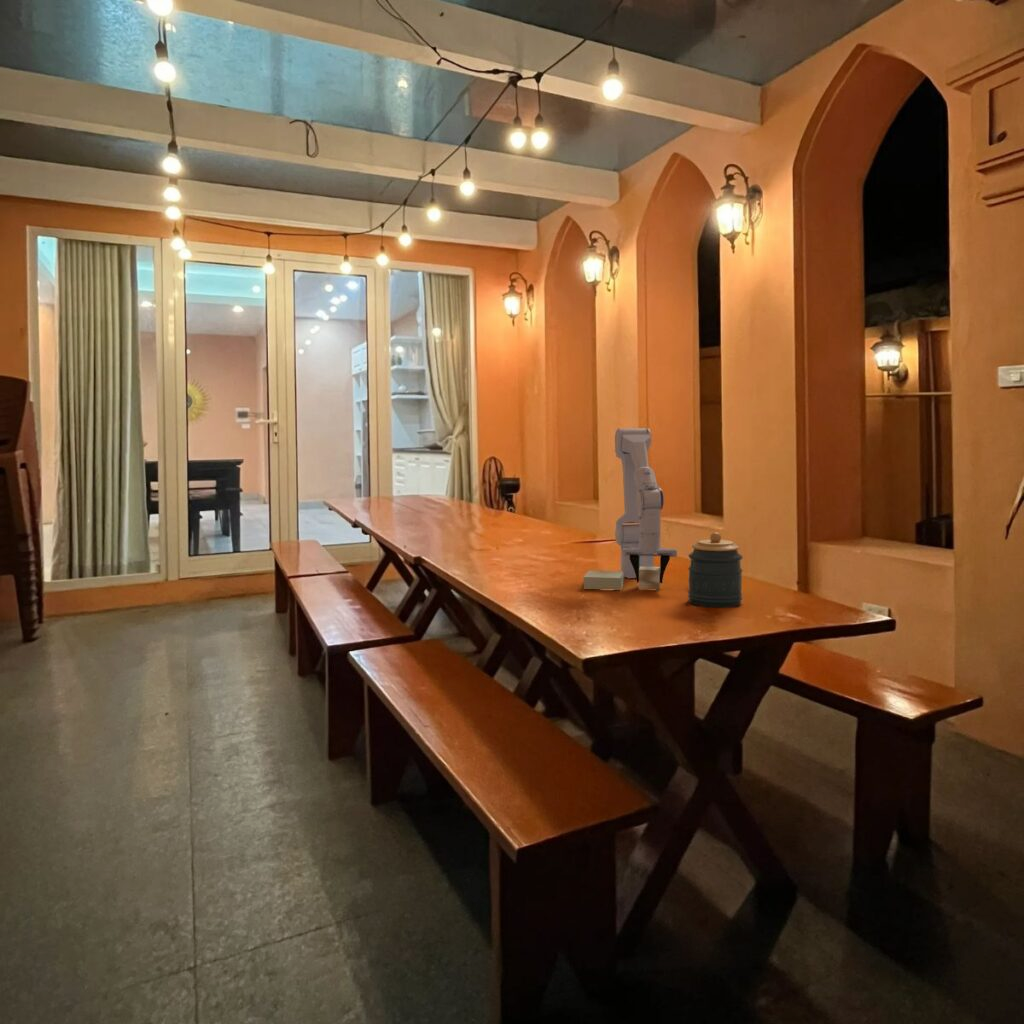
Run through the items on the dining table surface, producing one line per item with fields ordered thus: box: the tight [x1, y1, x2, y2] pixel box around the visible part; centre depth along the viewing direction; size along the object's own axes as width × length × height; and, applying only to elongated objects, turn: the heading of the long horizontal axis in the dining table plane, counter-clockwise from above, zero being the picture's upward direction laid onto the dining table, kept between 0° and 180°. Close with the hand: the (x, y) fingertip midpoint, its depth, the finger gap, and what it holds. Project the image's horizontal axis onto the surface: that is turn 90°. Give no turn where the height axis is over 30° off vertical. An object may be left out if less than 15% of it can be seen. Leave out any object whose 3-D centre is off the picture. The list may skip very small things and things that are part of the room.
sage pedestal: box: [583, 570, 625, 591], centre depth 203 cm, size 10×10×4 cm
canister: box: [687, 531, 743, 609], centre depth 181 cm, size 13×13×18 cm
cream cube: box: [638, 566, 661, 591], centre depth 200 cm, size 6×6×6 cm
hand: (649, 582), depth 201 cm, fingers closed on cream cube, 5 cm apart
